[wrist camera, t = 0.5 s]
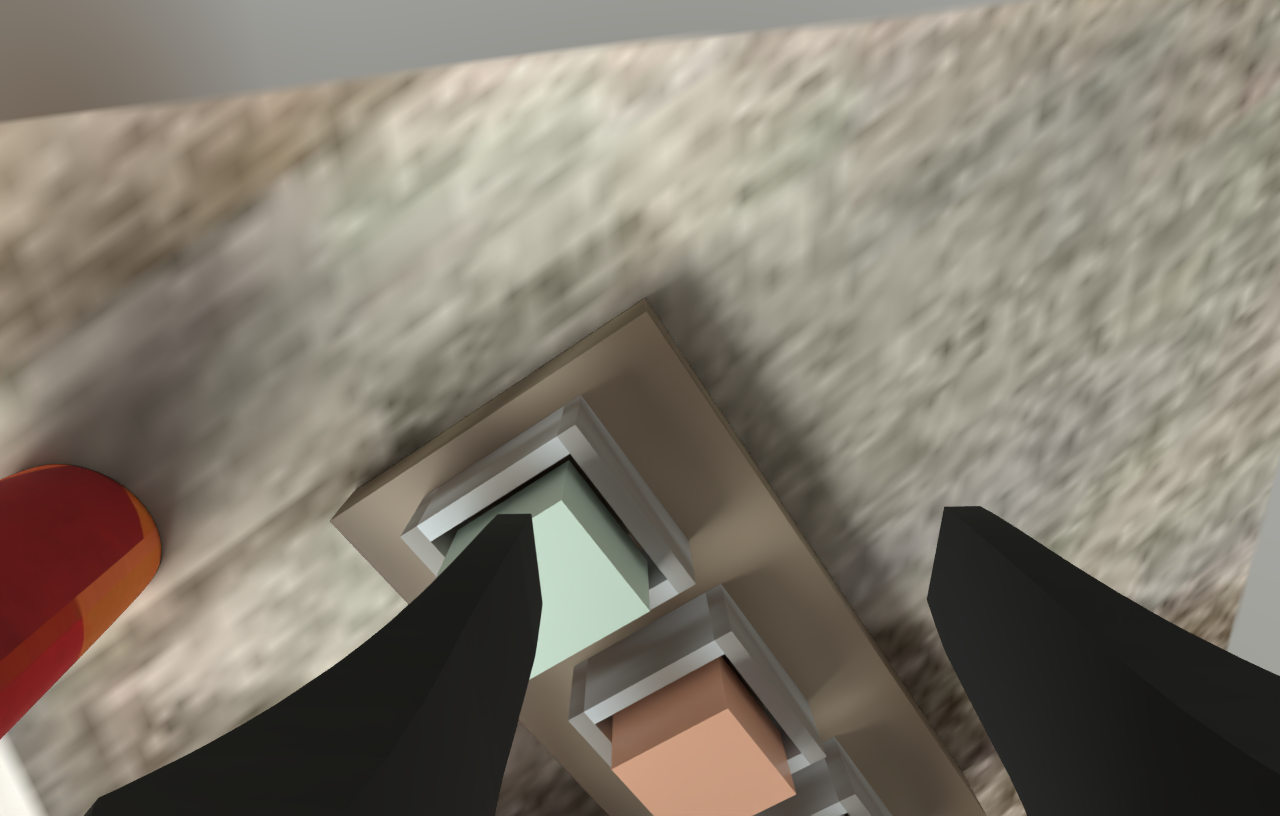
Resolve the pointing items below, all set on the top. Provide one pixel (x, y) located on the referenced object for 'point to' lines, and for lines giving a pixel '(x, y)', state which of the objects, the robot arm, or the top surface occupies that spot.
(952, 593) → the robot arm
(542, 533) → the sage button
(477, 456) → the button board
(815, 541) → the top surface
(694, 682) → the terracotta button
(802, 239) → the top surface
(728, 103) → the top surface
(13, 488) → the paper cup
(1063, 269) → the top surface
